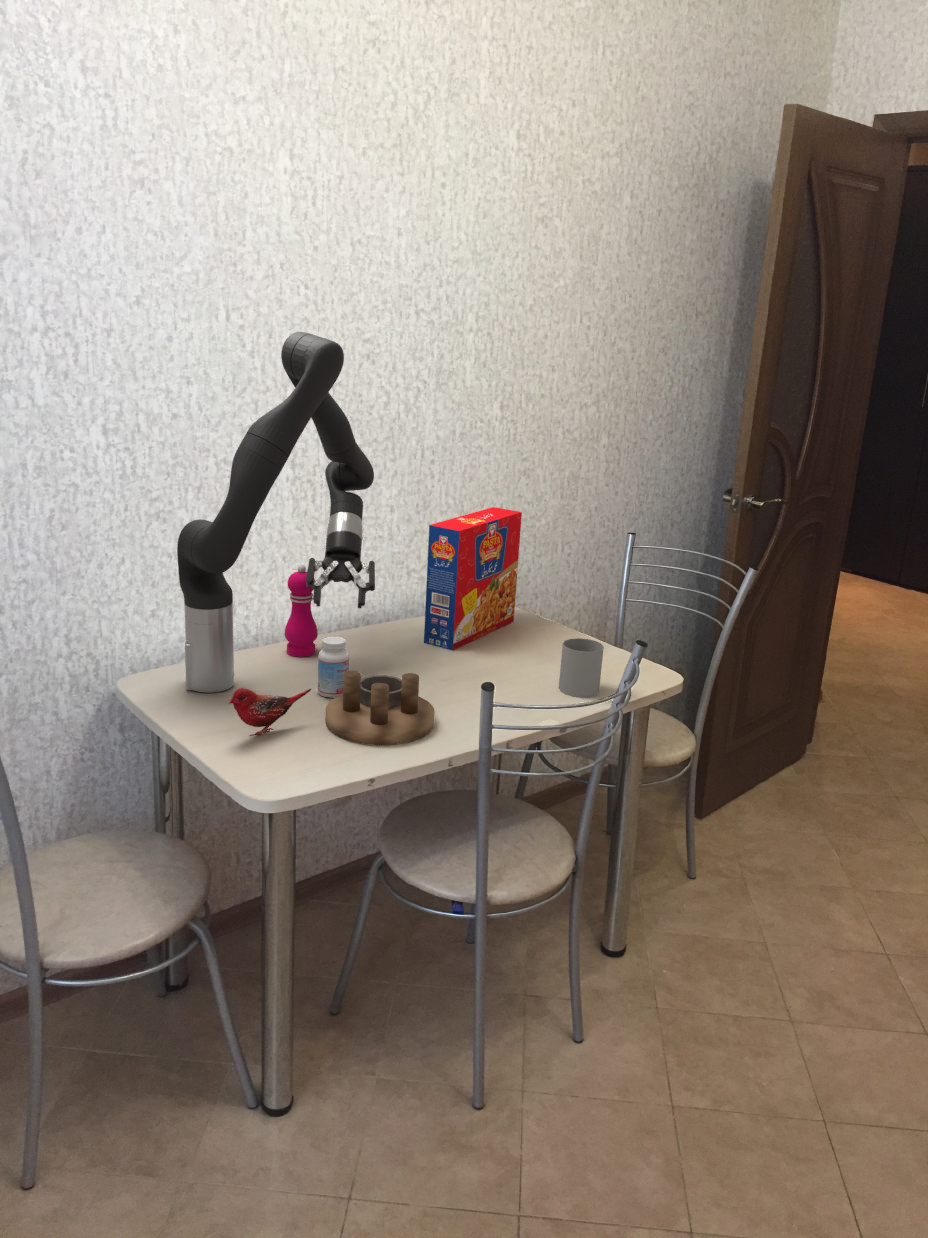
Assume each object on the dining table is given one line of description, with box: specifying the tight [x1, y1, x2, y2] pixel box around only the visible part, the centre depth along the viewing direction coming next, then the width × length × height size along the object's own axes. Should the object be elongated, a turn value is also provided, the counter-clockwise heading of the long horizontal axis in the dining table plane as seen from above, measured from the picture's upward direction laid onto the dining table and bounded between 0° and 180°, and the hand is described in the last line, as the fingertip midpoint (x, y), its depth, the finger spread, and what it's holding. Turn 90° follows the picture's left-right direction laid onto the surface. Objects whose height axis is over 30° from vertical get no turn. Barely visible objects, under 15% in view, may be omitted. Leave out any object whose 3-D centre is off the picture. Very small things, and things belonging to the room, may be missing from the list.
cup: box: [558, 637, 604, 699], centre depth 212 cm, size 8×8×10 cm
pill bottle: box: [317, 636, 350, 699], centre depth 202 cm, size 6×6×11 cm
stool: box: [324, 670, 436, 746], centre depth 190 cm, size 20×20×10 cm
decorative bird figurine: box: [228, 687, 312, 737], centre depth 184 cm, size 3×18×10 cm, turn 134°
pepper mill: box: [284, 564, 319, 658], centre depth 222 cm, size 7×7×20 cm
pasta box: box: [423, 506, 523, 652], centre depth 241 cm, size 28×8×28 cm, turn 148°
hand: (338, 605), depth 210 cm, fingers open, 8 cm apart
